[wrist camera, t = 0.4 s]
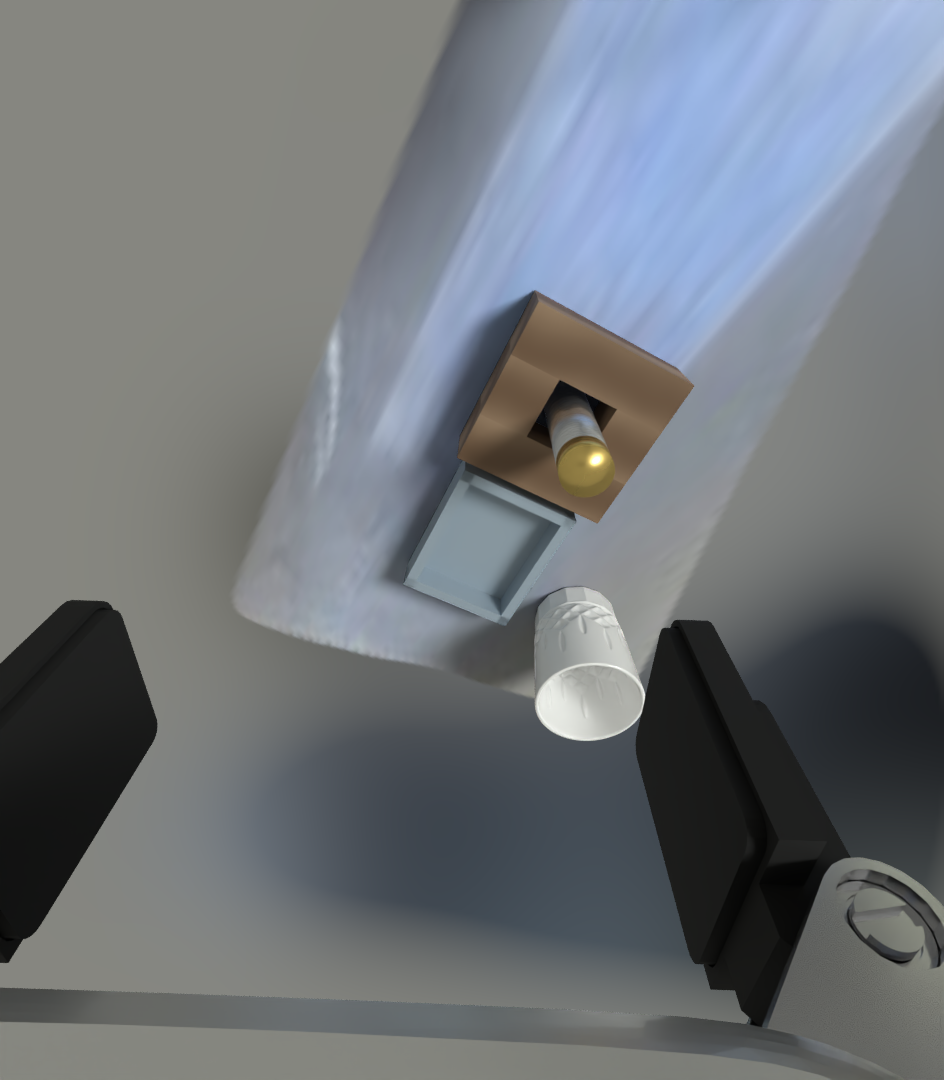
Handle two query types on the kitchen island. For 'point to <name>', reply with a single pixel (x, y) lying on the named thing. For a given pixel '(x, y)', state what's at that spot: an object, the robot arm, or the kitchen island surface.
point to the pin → (577, 443)
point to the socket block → (587, 364)
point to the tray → (486, 544)
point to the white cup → (583, 667)
